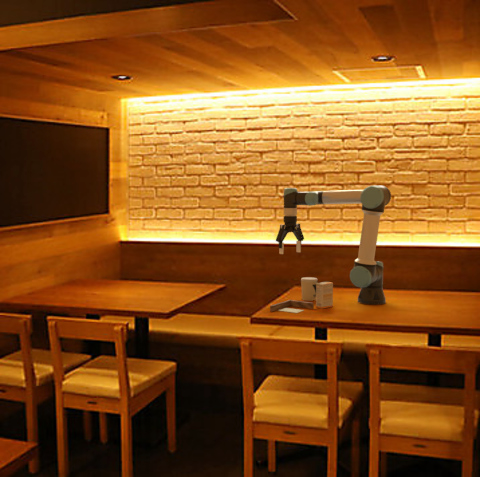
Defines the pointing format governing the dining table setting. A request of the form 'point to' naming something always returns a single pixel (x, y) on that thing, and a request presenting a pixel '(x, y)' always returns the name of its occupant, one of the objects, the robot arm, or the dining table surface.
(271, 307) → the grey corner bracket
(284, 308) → the pad
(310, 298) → the coffee cup
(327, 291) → the supplement box
